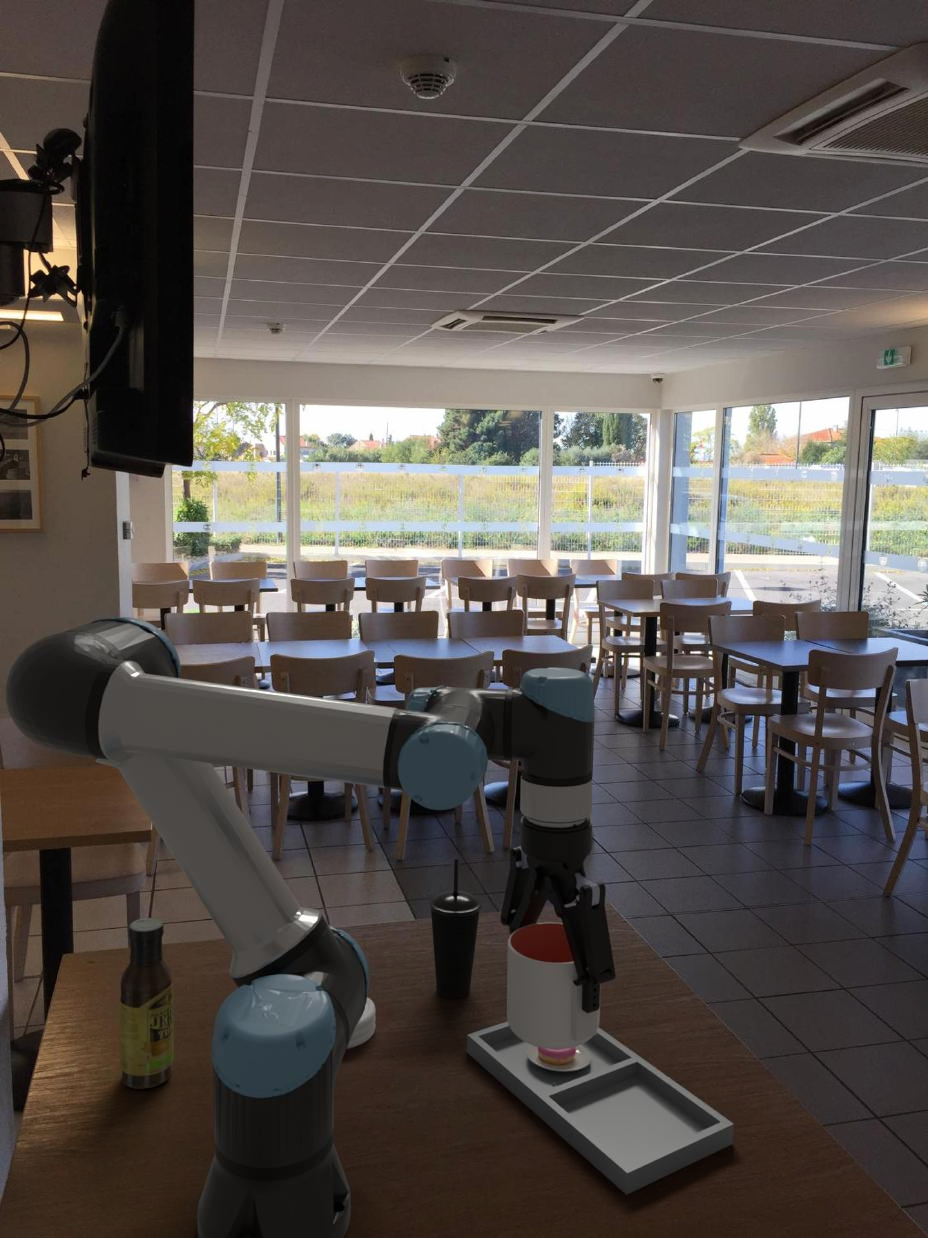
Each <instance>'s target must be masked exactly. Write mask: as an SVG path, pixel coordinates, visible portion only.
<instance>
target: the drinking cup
mask: <svg viewBox="0 0 928 1238" xmlns="http://www.w3.org/2000/svg"><path fill="white" fill-rule="evenodd" d="M459 861H460V860H459V859H457V858H455V859H454V860H453V889H452V890H449V891H445V892H440V893H437V894H435V895H433V896H431V897H430V899H429V901H428V907H429V909H430V913H431V914H430V915H431V917H430V918H431V926H432V927H431V929H432V930H431V931H432V942H433V957H434V970H435V981H436V982H435V984H436V992H437V994H438V995H439V996H440V997H442V998H445V999H449V1000H451V999H452V1000H456V999H457V1000H458V999H463V998H465V997H467V996H468V995H469V994H470V990H471V984H472V977H473V976H472V975H473V968H474V959H475V950H476V942H477V934H478V926H479V925H478V924H479V918H480V911H481V910H482V906H483V904H482V900H481V898H480V897H478V896H477V895H474V894H472V893H469V892H466V891H462V890H461V891H460V890H459V867H460V866H459V863H460V862H459Z"/></svg>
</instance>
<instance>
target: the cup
mask: <svg viewBox="0 0 928 1238" xmlns="http://www.w3.org/2000/svg"><path fill="white" fill-rule="evenodd" d="M506 968H507V973H506V975H507V977H506V980H507V983H506V984H507V985H506V986H507V987H506V989H507V990H506V994H507V995H506V997H507V998H506V1008H507V1009H506V1019H507V1021H508V1024H509V1026H510V1028H511V1030H512V1031H513V1032H514V1034H515V1035H516V1036H517V1037H519V1038H520V1039H521V1040H523V1041H525V1042H527V1043H529V1044H531V1045H534V1046H537V1047H541V1048H546V1049H567V1048H572V1047H576V1046H579V1045H581V1044H583V1043H585V1042H587V1041H588V1040H589V1039H591V1038H592V1037H593V1036H591V1037H588V1038H586V1039H583V1040H580V1041H577V1042H575V1041H574V1040H573V1039H572V984H573V979H576V978H578V975H577V972H576V968H575V965H574V961H573V958H572V954H571V951H570V947H569V944H568V940H567V937H566V933H565V930H564V926H563V923H562V922H539V923H537V922H536V924H531V925H527V926H524V927H522V928H519V929H518V930H516V931H514V932H513V933H512V934H511V935H509V937H508V939H507V967H506ZM587 970H588V967H587ZM600 1018H601V1006H600V1007H599V1009H598V1010H597V1029H598V1027H599V1026H600V1021H601V1019H600Z"/></svg>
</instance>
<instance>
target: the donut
mask: <svg viewBox="0 0 928 1238" xmlns="http://www.w3.org/2000/svg"><path fill="white" fill-rule="evenodd" d="M527 1056H528V1058H529V1059H530V1061H532V1062H533V1063H534V1064H536V1065H538V1066H540V1067H542V1068H545V1069H548V1070H552V1071H559V1072H570V1071H576V1070H580V1069H582V1068H585V1067H586V1066H588V1065H589V1064H590V1062H591V1055H590V1053H589V1052H588V1051H587V1050H586V1049H585V1048H583V1047H582V1046H580V1045H579V1046H576V1047H572V1048H567V1049H546V1048H541V1047H537V1046H534V1045H531V1046H530V1047H529V1048H528V1049H527ZM553 1085H555V1083H553ZM555 1087H556V1085H555Z"/></svg>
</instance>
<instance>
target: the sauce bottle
mask: <svg viewBox="0 0 928 1238" xmlns="http://www.w3.org/2000/svg"><path fill="white" fill-rule="evenodd" d="M164 927H165V925H164V923H163V920H161V919H158V918H152V917H145V918H140V919H136V920H134V921H132V922H131V923H130V924H129V926H128V937H129V940H130V955H129V961H130V962H129V963H128V965H127V967H126V969H124V971H123V973H122V975H121V979H120V998H119V1015H120V1016H119V1029H120V1030H119V1032H120V1035H119V1036H120V1038H119V1039H120V1041H119V1043H120V1045H119V1047H120V1048H119V1049H120V1050H119V1051H120V1058H119V1059H120V1064H119V1065H120V1069H121V1079H122V1083H123V1084H124V1086H127V1087H128V1088H132V1089H135V1090H136V1089H138V1090H139V1089H140V1090H143V1089H144V1090H146V1089H150V1088H151V1089H152V1088H155V1087H157V1086H159V1085H161V1084H163V1083H164V1082H166V1081H168V1080H169V1079H170V1078H171V1076H172V1072H173V1062H174V981H173V975H172V971H171V969H170V967H169V966H168V964H167V963H166V962H165V960H164V959H163V958H164V957H163V956H164V953H163V936H164V932H165V930H164Z"/></svg>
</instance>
